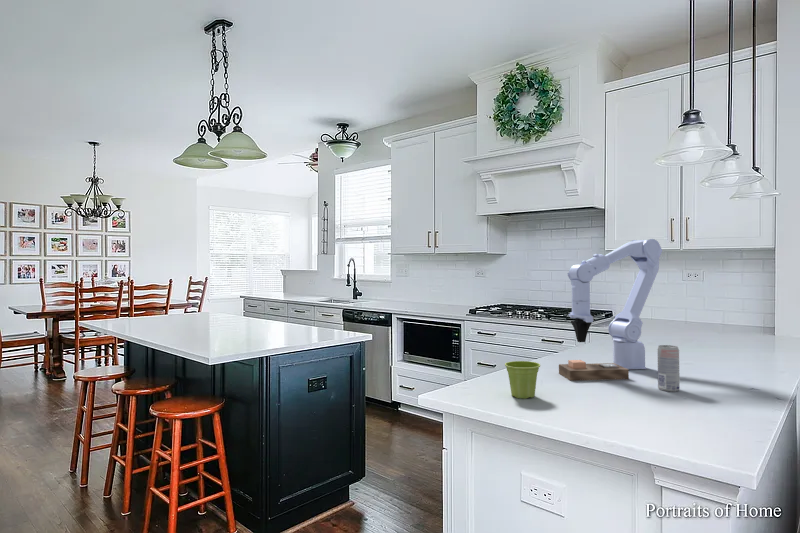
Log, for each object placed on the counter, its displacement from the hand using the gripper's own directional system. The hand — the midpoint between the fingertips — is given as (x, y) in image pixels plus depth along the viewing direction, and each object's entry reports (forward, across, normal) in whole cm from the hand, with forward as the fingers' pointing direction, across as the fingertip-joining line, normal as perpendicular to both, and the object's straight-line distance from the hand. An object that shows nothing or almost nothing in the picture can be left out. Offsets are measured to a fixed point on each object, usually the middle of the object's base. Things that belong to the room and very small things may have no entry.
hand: (581, 341), depth 171 cm
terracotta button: (+7, +9, -5) cm, 13 cm away
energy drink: (+10, +27, +14) cm, 32 cm away
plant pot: (+10, +30, -28) cm, 42 cm away
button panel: (+9, +9, 0) cm, 13 cm away
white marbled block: (+9, +9, +5) cm, 14 cm away
